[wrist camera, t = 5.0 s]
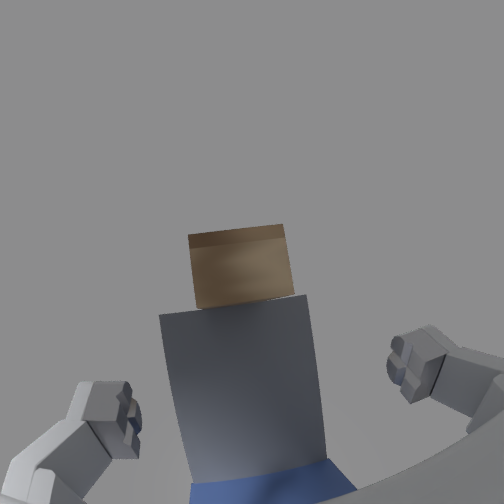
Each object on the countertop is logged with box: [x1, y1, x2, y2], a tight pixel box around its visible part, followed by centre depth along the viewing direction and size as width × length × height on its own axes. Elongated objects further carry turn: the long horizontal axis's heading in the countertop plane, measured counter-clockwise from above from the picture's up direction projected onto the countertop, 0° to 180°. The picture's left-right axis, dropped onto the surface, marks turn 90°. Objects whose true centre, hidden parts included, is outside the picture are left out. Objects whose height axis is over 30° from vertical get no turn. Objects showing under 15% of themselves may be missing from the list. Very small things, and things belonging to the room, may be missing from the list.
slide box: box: [188, 224, 295, 310], centre depth 22 cm, size 4×20×3 cm, turn 7°
